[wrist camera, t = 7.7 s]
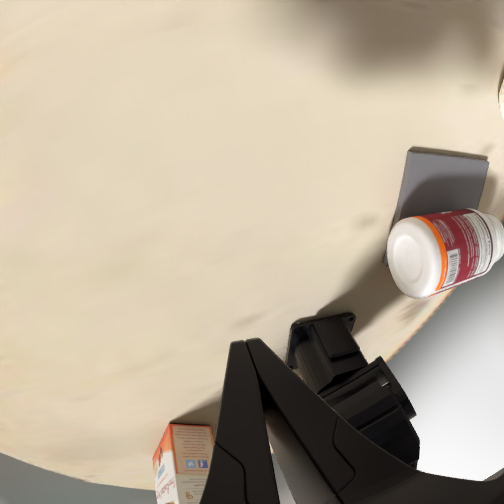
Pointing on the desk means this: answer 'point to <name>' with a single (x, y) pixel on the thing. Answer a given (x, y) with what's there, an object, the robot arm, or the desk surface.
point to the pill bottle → (443, 250)
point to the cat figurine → (501, 98)
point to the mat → (439, 185)
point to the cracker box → (182, 463)
